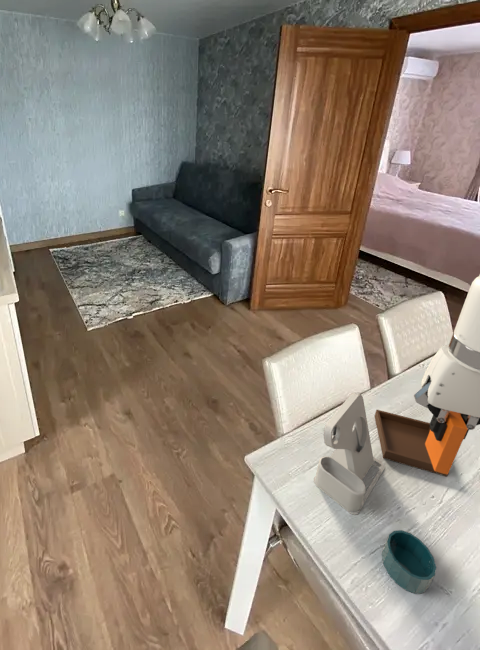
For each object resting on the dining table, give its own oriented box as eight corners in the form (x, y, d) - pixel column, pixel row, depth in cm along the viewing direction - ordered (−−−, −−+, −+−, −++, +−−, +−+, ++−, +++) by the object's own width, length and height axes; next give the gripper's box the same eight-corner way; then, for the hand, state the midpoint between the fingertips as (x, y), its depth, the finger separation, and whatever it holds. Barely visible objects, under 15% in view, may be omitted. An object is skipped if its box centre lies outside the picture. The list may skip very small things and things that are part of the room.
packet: (436, 447, 65) (454, 402, 60) (447, 475, 60) (468, 429, 56) (424, 443, 65) (441, 399, 61) (434, 471, 60) (453, 425, 56)
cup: (421, 555, 66) (428, 539, 64) (433, 603, 60) (442, 587, 58) (378, 539, 69) (384, 524, 67) (385, 584, 62) (392, 568, 60)
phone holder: (354, 521, 72) (373, 461, 65) (309, 483, 79) (322, 426, 72) (385, 467, 82) (404, 411, 76) (343, 438, 89) (357, 385, 83)
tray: (429, 430, 92) (432, 423, 91) (446, 476, 80) (450, 469, 79) (374, 415, 96) (376, 409, 95) (383, 458, 85) (385, 451, 84)
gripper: (530, 347, 54) (489, 431, 61) (414, 327, 59) (388, 407, 66) (561, 381, 48) (512, 470, 55) (427, 355, 52) (398, 441, 59)
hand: (445, 435), depth 60 cm, fingers closed on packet, 2 cm apart
